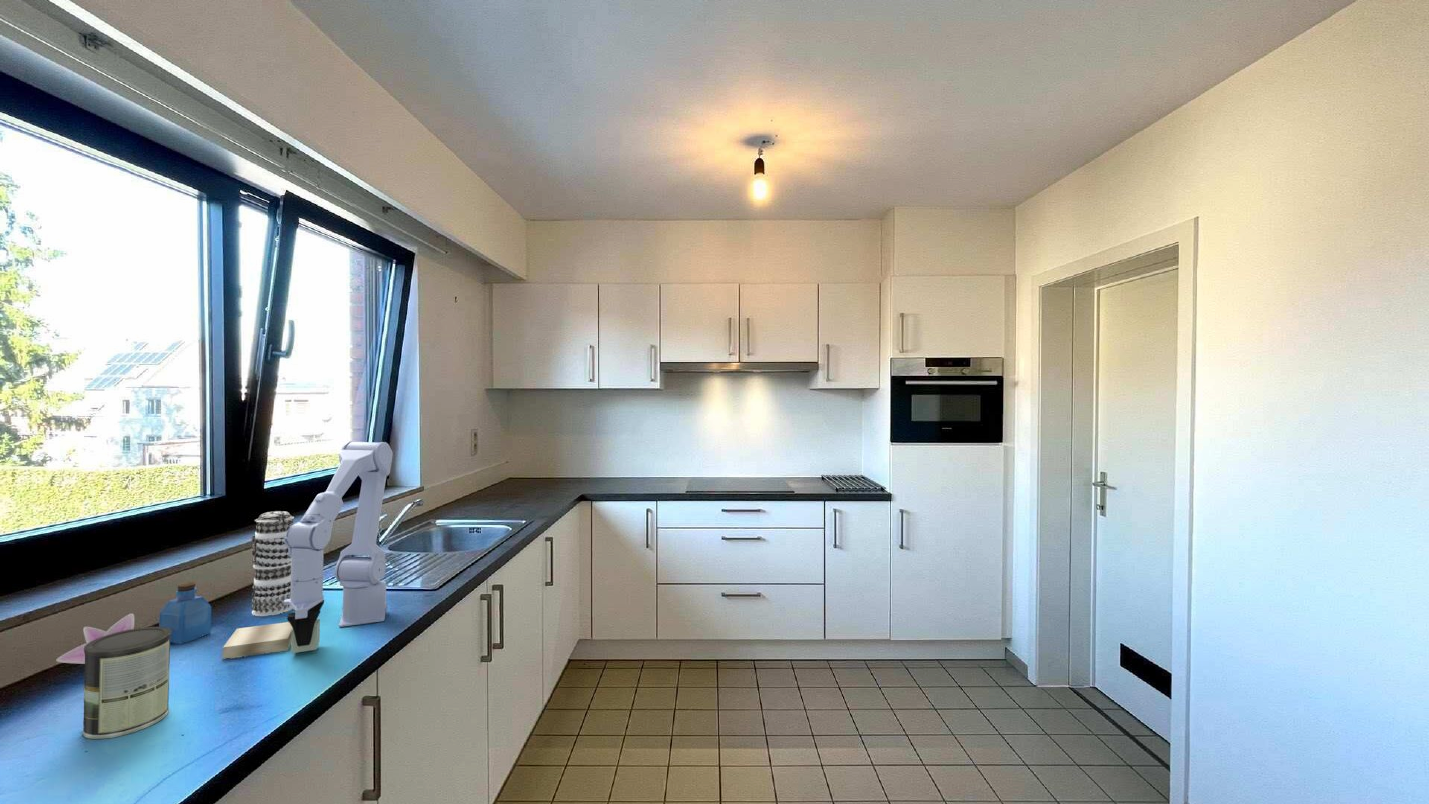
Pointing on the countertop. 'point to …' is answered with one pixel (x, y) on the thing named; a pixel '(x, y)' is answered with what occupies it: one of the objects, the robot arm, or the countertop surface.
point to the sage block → (313, 643)
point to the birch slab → (258, 640)
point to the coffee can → (126, 682)
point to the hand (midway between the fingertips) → (305, 640)
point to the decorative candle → (271, 564)
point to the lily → (92, 634)
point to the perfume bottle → (186, 615)
